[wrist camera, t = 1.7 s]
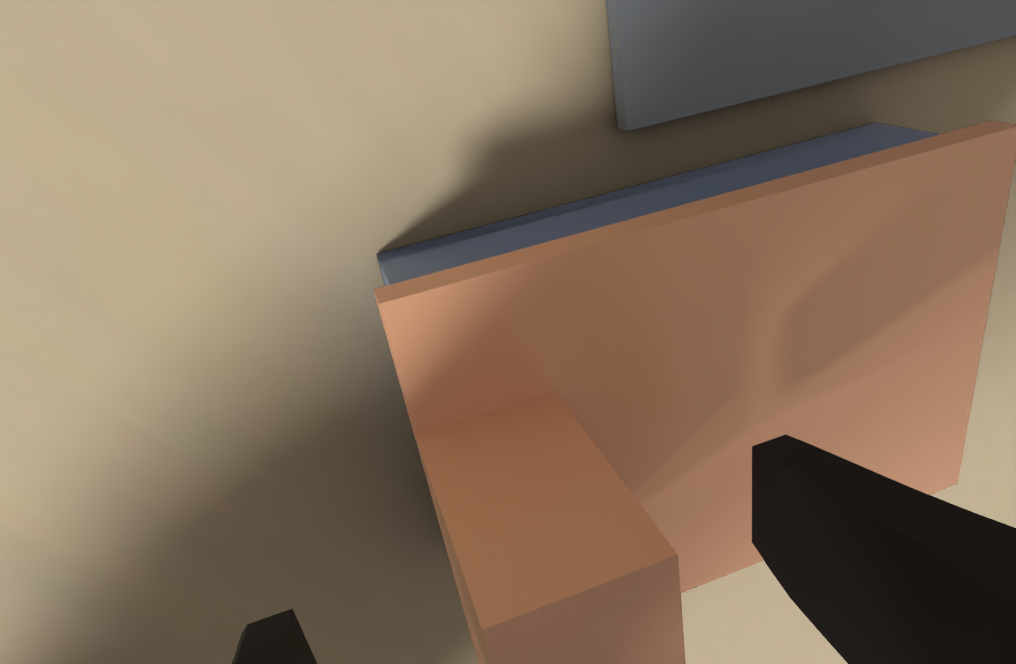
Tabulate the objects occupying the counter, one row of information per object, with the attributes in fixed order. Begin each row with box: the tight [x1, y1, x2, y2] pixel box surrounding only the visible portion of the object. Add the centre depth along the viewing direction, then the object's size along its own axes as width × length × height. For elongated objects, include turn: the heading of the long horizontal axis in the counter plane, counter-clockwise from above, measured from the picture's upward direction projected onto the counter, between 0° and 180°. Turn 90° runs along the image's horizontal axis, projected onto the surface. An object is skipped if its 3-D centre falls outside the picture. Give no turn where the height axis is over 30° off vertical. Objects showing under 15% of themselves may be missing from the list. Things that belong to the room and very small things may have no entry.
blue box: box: [376, 122, 940, 286], centre depth 15 cm, size 8×11×2 cm
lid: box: [373, 121, 1016, 664], centre depth 12 cm, size 8×12×6 cm
